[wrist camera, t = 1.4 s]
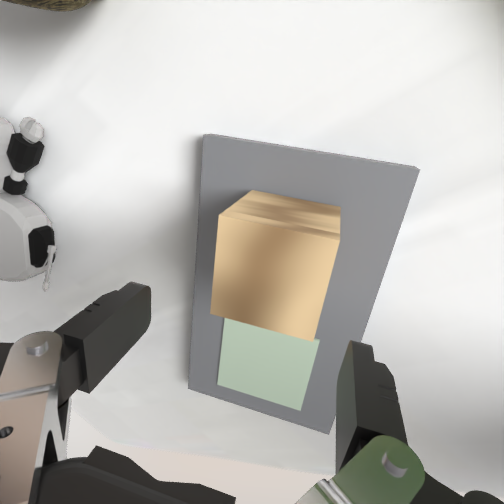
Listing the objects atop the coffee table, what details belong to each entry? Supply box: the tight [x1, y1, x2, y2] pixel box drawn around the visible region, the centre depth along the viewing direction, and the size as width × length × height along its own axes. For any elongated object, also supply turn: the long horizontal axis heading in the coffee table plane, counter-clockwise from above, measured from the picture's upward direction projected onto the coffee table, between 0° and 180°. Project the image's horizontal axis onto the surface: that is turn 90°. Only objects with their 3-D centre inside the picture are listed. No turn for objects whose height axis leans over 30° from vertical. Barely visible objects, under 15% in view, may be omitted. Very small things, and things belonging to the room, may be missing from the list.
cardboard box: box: [210, 190, 341, 342], centre depth 19 cm, size 6×6×6 cm
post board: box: [188, 134, 420, 434], centre depth 23 cm, size 14×24×8 cm, turn 171°
